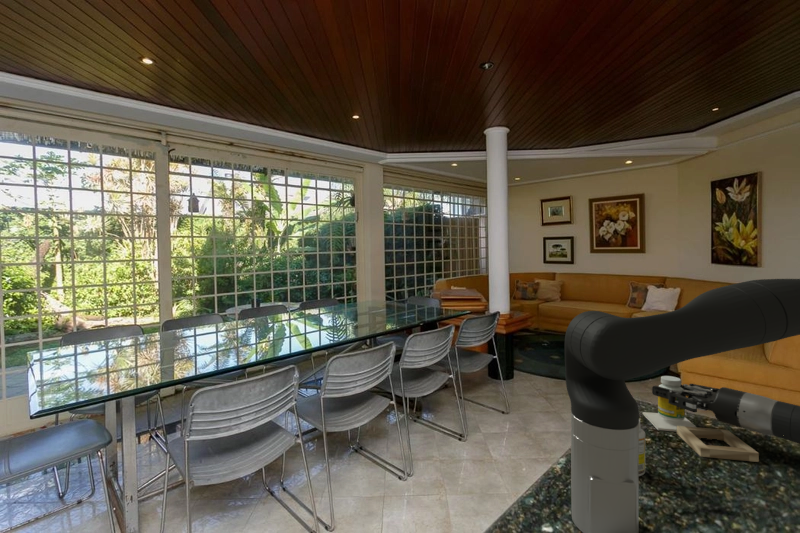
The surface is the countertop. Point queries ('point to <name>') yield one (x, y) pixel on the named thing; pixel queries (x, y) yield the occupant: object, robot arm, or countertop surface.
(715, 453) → the socket block
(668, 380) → the supplement bottle
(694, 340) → the robot arm
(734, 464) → the countertop surface
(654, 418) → the coaster
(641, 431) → the supplement bottle
